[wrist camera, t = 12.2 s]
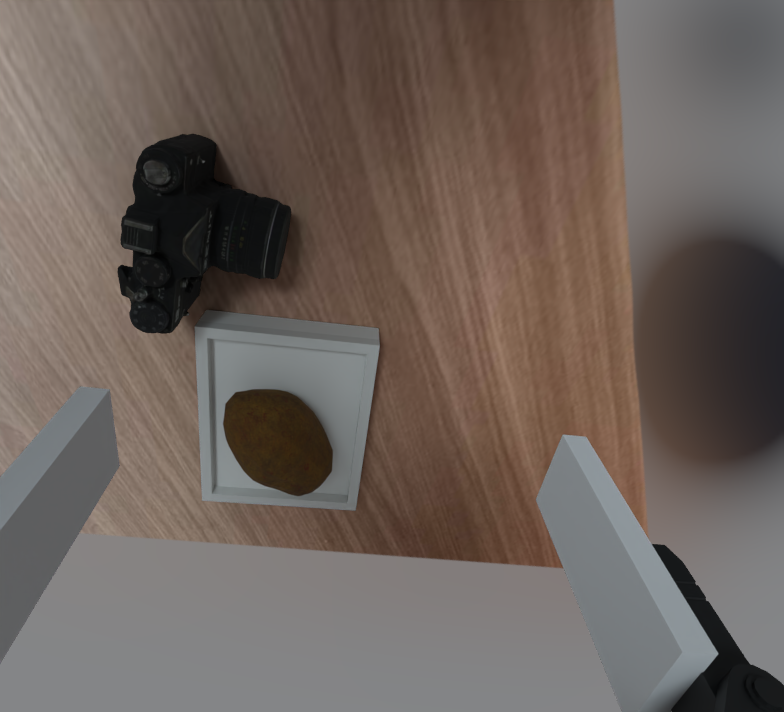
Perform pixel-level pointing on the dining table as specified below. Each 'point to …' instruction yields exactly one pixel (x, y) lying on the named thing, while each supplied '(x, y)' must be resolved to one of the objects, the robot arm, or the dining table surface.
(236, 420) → the potato
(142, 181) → the camera
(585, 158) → the dining table surface
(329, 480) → the tray
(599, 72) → the dining table surface
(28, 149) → the dining table surface
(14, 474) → the robot arm
